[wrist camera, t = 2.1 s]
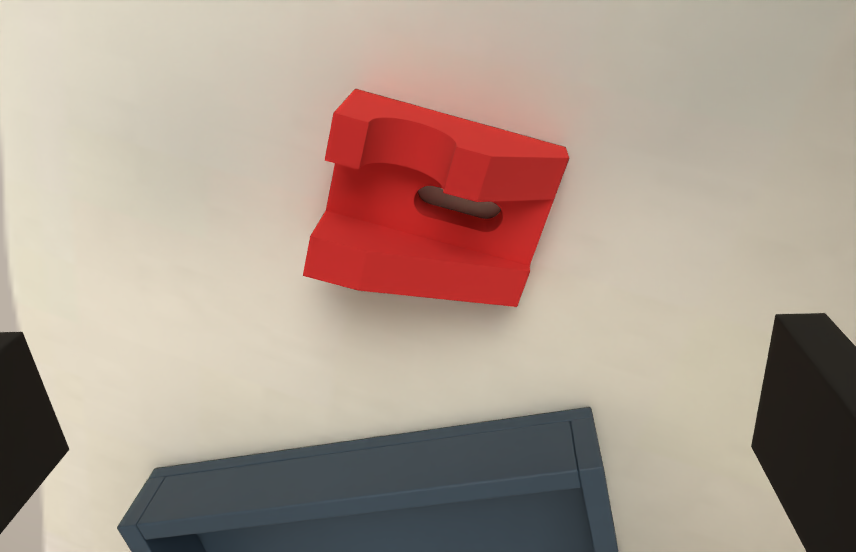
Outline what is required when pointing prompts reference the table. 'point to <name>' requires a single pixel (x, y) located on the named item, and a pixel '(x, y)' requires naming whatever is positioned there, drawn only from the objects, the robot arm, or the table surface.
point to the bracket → (425, 223)
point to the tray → (391, 494)
